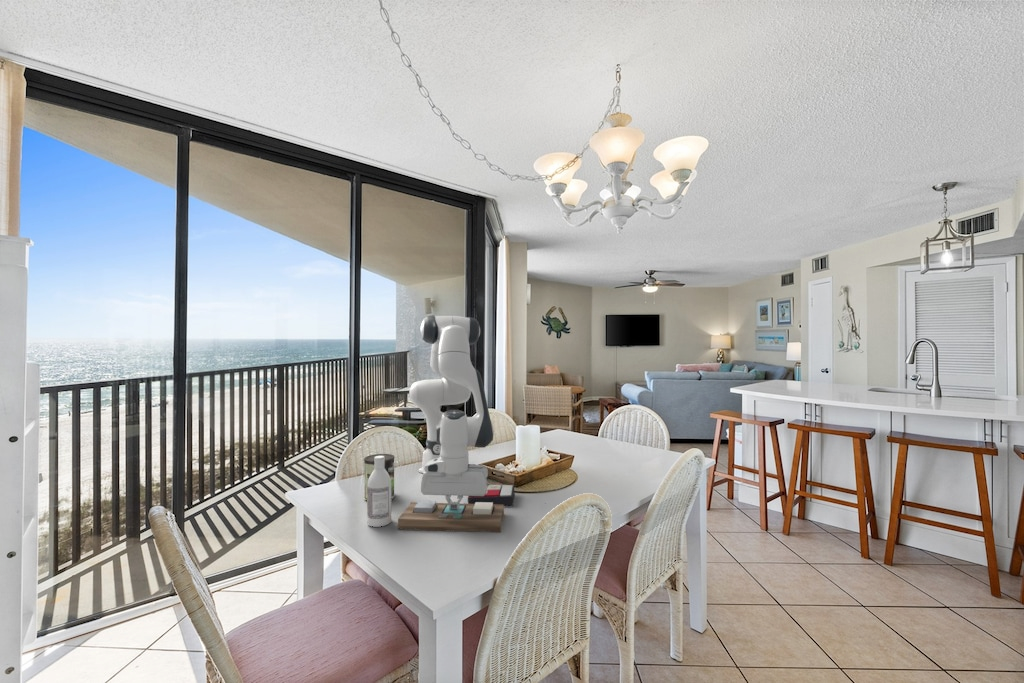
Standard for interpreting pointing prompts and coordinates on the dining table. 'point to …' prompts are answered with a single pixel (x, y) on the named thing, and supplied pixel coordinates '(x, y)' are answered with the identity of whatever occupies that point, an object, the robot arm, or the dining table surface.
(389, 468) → the coffee can
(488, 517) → the keypad
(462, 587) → the dining table surface
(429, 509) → the grey key
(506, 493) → the red and black box
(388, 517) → the bath foam
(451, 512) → the teal key
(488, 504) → the cream key
